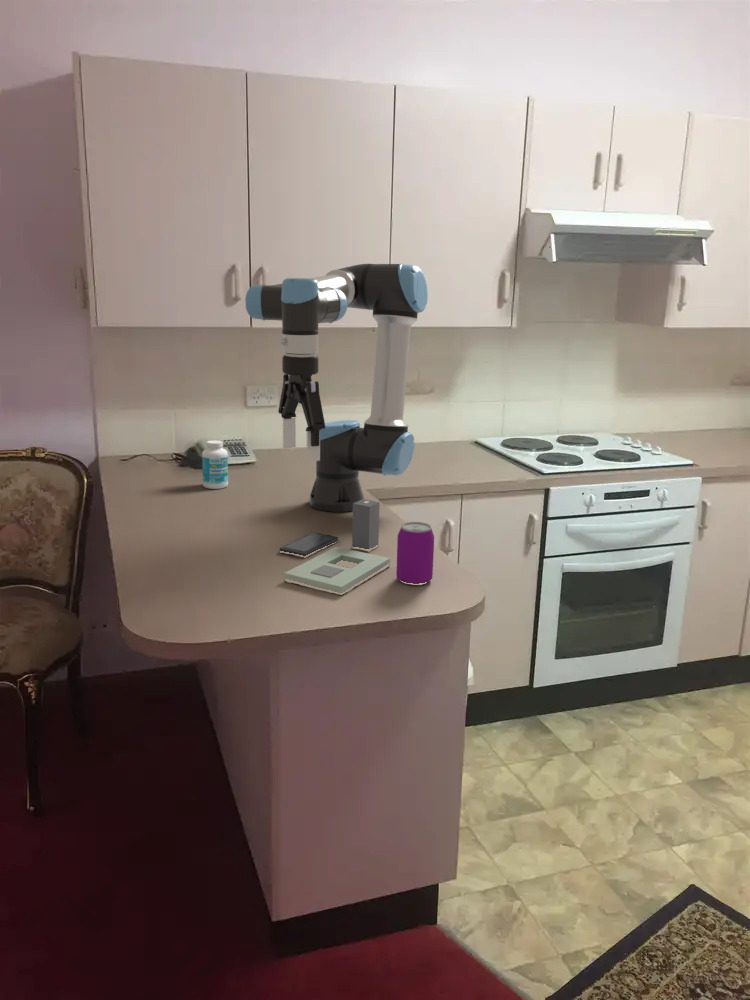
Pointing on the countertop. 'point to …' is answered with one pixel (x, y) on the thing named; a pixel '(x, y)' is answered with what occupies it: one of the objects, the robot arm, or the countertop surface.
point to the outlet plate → (337, 569)
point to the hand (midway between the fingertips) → (300, 454)
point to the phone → (309, 544)
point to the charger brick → (365, 524)
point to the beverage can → (415, 553)
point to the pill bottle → (215, 465)
